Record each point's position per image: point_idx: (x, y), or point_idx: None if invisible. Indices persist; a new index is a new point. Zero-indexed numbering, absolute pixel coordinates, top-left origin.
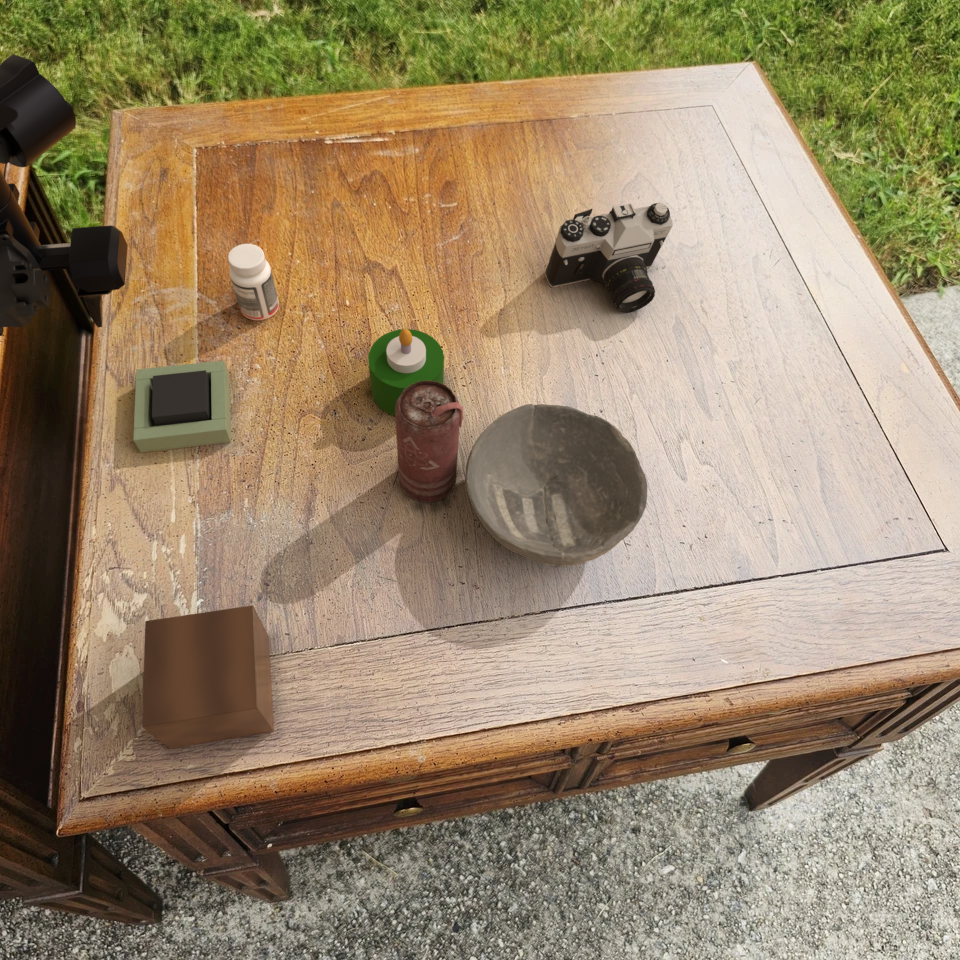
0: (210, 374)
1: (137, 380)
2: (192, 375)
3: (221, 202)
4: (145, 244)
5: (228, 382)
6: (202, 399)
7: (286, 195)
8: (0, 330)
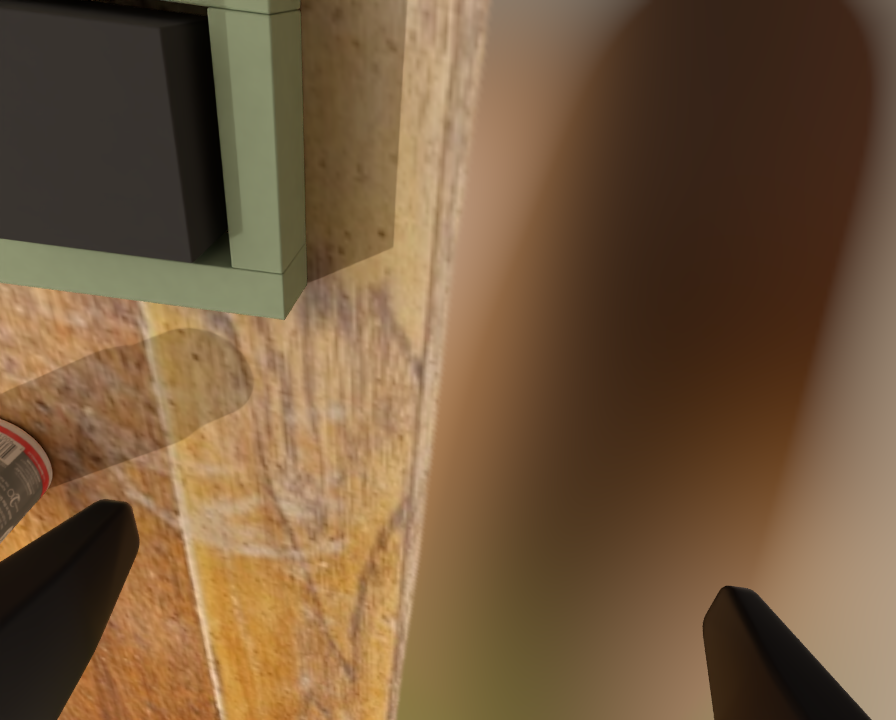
0: None
1: (274, 270)
2: (33, 224)
3: (165, 705)
4: (322, 662)
5: None
6: None
7: None
8: (728, 625)
